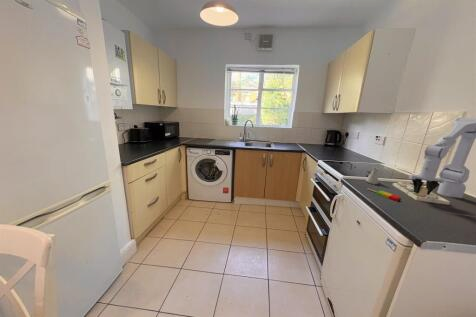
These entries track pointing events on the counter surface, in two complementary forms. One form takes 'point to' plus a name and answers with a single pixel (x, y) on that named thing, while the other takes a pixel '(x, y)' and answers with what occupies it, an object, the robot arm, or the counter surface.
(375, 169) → the flask
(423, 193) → the egg
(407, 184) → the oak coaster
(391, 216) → the counter surface
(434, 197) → the egg box
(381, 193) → the popsicle
